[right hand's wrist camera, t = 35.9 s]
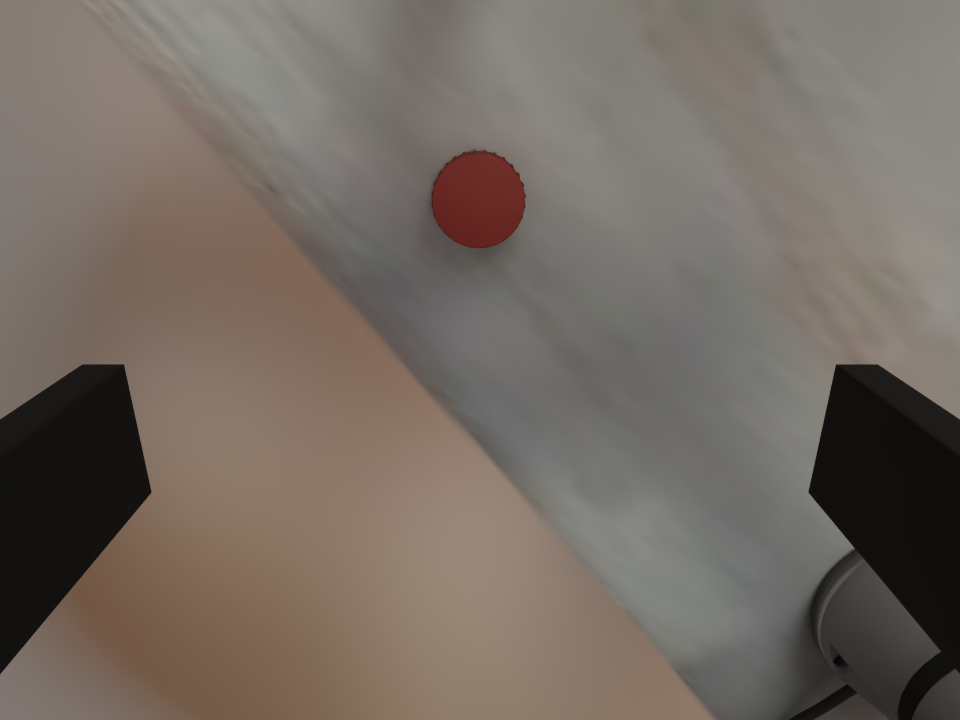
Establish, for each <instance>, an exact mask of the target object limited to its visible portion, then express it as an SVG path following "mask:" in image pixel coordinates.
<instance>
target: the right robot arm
mask: <svg viewBox="0 0 960 720" xmlns="http://www.w3.org/2000/svg"><path fill="white" fill-rule="evenodd" d="M150 494H151V488H150V483H149V479H148V474H147V470H146V465H145V460H144V456H143V451H142V446H141V442H140V437H139V433H138V428H137V423H136V418H135V414H134V409H133V405H132V400H131V395H130V391H129V386H128V381H127V377H126V372H125V367H124V365H81V366H79V367H78V368H77V369H75V370H73V371H72V372H71V373H69V374H67V375H66V376H65V377H63V378H62V379H60V380H59V381H57V382H56V383H54V384H53V385H51V386H50V387H48V388H47V389H45V390H44V391H42V392H41V393H39V394H38V395H36V396H35V397H33V398H32V399H30V400H29V401H27V402H26V403H24V404H23V405H21V406H20V407H18V408H17V409H15V410H14V411H12V412H11V413H9V414H8V415H6V416H5V417H3V418H2V419H0V674H1V673H2V671H3V670H4V669H5V668H6V667H7V665H8V664H9V663H10V662H11V661H12V659H13V658H14V657H15V656H16V655H17V653H18V652H19V651H20V650H21V648H22V647H23V646H24V645H25V644H26V642H27V641H28V640H29V639H30V638H31V636H32V635H33V634H34V633H35V632H36V631H37V629H38V628H39V627H40V626H41V625H42V623H43V622H44V621H45V620H46V619H47V617H48V616H49V615H50V614H51V613H52V611H53V610H54V609H55V608H56V606H57V605H58V604H59V603H60V602H61V600H62V599H63V598H64V597H65V596H66V594H67V593H68V592H69V591H70V590H71V588H72V587H73V586H74V585H75V584H76V582H77V581H78V580H79V579H80V578H81V576H82V575H83V574H84V573H85V572H86V570H87V569H88V568H89V567H90V566H91V564H92V563H93V562H94V561H95V560H96V558H97V557H98V556H99V555H100V554H101V552H102V551H103V550H104V549H105V548H106V546H107V545H108V544H109V543H110V542H111V540H112V539H113V538H114V537H115V536H116V534H117V533H118V532H119V531H120V530H121V528H122V527H123V526H124V525H125V524H126V522H127V521H128V520H129V519H130V518H131V516H132V515H133V514H134V513H135V512H136V510H137V509H138V508H139V507H140V506H141V504H142V503H143V502H144V501H145V500H146V498H147V497H148V496H149V495H150ZM809 494H810V495H811V496H812V497H813V498H814V500H815V501H816V502H817V503H818V504H819V506H820V507H821V508H822V509H823V510H824V512H825V513H826V514H827V515H828V516H829V518H830V519H831V520H832V521H833V522H834V524H835V525H836V526H837V527H838V528H839V530H840V531H841V532H842V533H843V534H844V536H845V537H846V538H847V539H848V540H849V542H850V543H851V544H852V545H853V546H854V548H855V549H856V550H855V551H854V552H852V553H851V554H850V555H848V556H847V557H846V558H845V559H843V560H842V561H841V562H840V563H839V564H838V565H837V566H836V567H835V568H834V569H833V570H832V572H831V573H830V574H829V575H828V576H827V578H826V579H825V581H824V582H823V584H822V585H821V587H820V589H819V591H818V593H817V595H816V598H815V600H814V603H813V608H812V613H811V628H812V634H813V637H814V640H815V642H816V644H817V646H818V648H819V650H820V651H821V653H822V654H823V656H824V658H825V659H826V661H827V662H828V664H829V666H830V667H831V668H832V669H833V670H834V671H835V672H836V673H837V675H838V676H839V677H840V678H841V679H842V680H843V681H844V682H845V683H847V685H845V686H844V687H842V688H841V689H839V690H838V691H836V692H835V693H833V694H831V695H830V696H828V697H827V698H825V699H824V700H822V701H820V702H819V703H817V704H816V705H814V706H812V707H810V708H809V709H807V710H805V711H803V712H801V713H799V714H798V715H796V716H794V717H793V718H791V719H790V720H814V719H815V718H817V717H819V716H821V715H823V714H824V713H826V712H828V711H829V710H831V709H833V708H834V707H836V706H837V705H839V704H841V703H842V702H844V701H845V700H847V699H848V698H850V697H852V696H853V695H855V694H856V693H859V694H860V695H861V696H862V697H863V698H865V699H866V700H867V701H868V702H869V703H870V704H872V705H873V706H874V707H875V708H876V709H878V710H879V711H880V712H881V713H882V714H884V715H885V716H886V717H887V718H888V719H890V720H960V419H958V418H957V417H955V416H954V415H952V414H951V413H949V412H948V411H946V410H945V409H943V408H942V407H940V406H939V405H937V404H936V403H934V402H933V401H931V400H930V399H928V398H927V397H925V396H924V395H922V394H921V393H919V392H918V391H916V390H915V389H913V388H912V387H910V386H909V385H907V384H906V383H904V382H903V381H901V380H900V379H898V378H897V377H895V376H894V375H893V374H891V373H890V372H888V371H887V370H885V369H884V368H882V367H881V366H879V365H836V367H835V372H834V377H833V381H832V386H831V391H830V395H829V400H828V404H827V409H826V414H825V418H824V423H823V428H822V432H821V437H820V442H819V446H818V451H817V455H816V460H815V465H814V469H813V474H812V479H811V483H810V488H809Z"/></svg>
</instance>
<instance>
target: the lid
mask: <svg viewBox="0 0 960 720" xmlns="http://www.w3.org/2000/svg"><path fill="white" fill-rule="evenodd" d="M438 175H439V177H438V179H437V180H436V181H435V183H434V185H435V187H434V190H433V192H432V196H433V198H432V206H433V211H434V217H435V218H436V220H437V222H438V225H439V226H440V227H441V229H442V230H443V231H444V233H445V234H446V235H447V236H448V237H450V238H451V239H452V240H454V241H455V242H457V243H459V244H461V245H464V246H467V247H472V248H485V247H490V246H494V245H496V244H498V243H500V242H502V241H504V240H505V239H507V238H508V237H509V236H510V235H511V234H512V233H513V232H514V231H515V229H516V228H517V227H518V225H519V223H520V221H521V219H522V218H523V213H524V208H525V197H526V195H525V193H524V189H523V187H524V185H523V183H522V182H521V180H520V178H519V177H520V175H519V173H518V172H517V173H516V171H515V170H514V167H513V165H512V164H511V165H510V164H509V163H508V162H507V161H506V159H505V158H504V157H503V158H502V157H500V156H498V155H496V153H495V152H494V154H493V153H490V152H486V150H484V151H475V150H473V151H472V152H467V153H465V152H463V154H462V155H459V156H457V157H456V156H455V157H454V158H453V160H452V161H450V162H449V163H446V165H445V168H444V169H443V170H442V171H440V172H439V174H438Z"/></svg>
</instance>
